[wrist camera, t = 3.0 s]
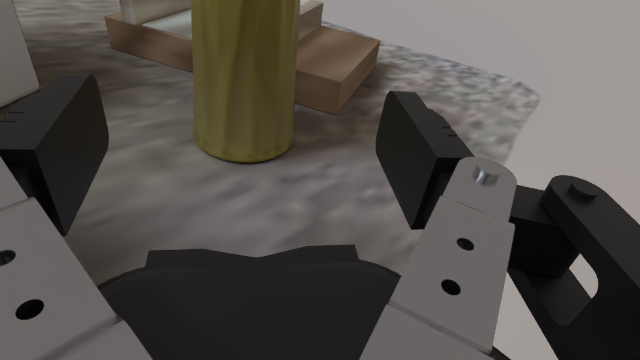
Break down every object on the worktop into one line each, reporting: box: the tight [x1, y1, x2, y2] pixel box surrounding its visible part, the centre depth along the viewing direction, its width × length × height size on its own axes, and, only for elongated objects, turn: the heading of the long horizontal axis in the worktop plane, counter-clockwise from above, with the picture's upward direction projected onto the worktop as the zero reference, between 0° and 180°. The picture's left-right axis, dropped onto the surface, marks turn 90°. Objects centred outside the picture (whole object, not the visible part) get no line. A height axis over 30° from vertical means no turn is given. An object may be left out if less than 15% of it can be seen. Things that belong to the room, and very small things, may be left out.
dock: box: [105, 0, 380, 115], centre depth 34 cm, size 20×11×4 cm, turn 69°
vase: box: [191, 0, 300, 163], centre depth 20 cm, size 6×6×14 cm
